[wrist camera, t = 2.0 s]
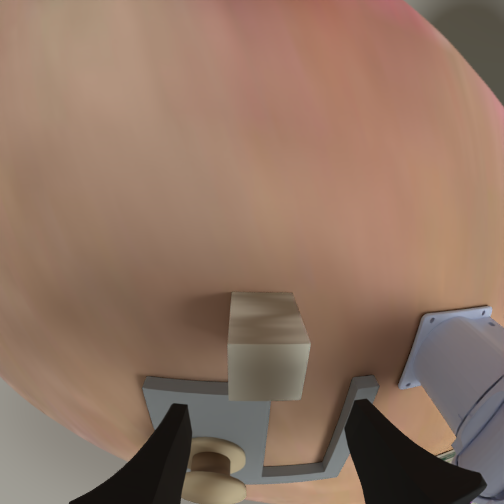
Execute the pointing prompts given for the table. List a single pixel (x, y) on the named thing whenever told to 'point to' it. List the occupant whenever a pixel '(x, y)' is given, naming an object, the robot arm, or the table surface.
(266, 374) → the block
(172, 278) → the table surface
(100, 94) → the table surface
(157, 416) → the notched board
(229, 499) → the spool
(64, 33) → the table surface
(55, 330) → the table surface
